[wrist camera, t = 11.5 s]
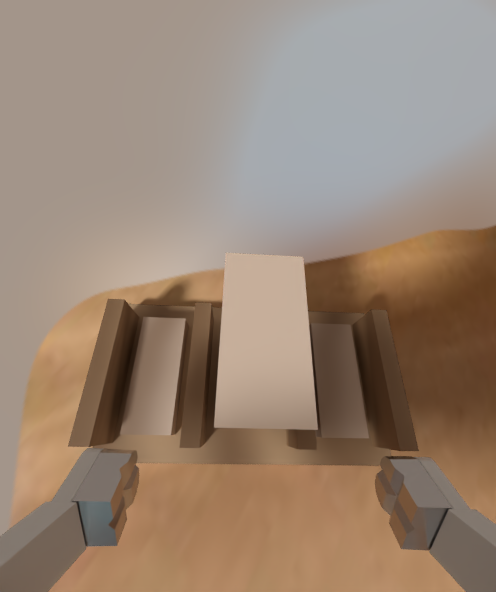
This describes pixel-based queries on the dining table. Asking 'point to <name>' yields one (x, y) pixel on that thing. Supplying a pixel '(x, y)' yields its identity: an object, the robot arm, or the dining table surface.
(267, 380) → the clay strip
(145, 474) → the dining table surface
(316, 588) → the dining table surface
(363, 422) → the slotted holder block
